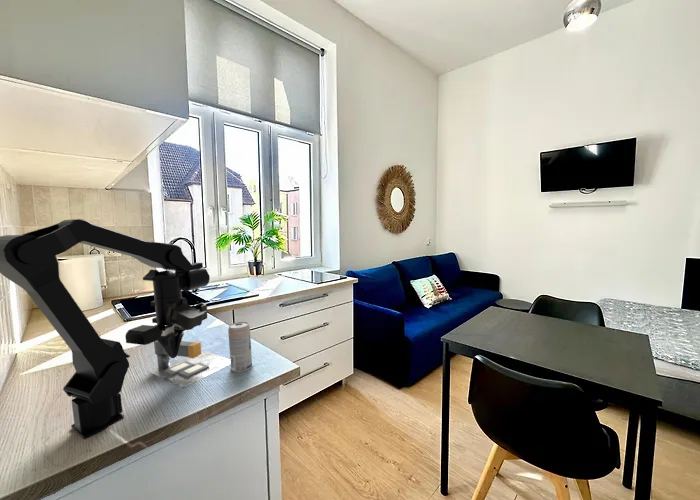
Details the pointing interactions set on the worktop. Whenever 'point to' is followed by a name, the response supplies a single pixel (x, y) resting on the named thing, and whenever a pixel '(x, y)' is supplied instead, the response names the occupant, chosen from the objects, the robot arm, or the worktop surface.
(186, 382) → the plate
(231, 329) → the energy drink
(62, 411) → the worktop surface
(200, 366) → the label tile
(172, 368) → the label tile
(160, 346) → the swing arm
